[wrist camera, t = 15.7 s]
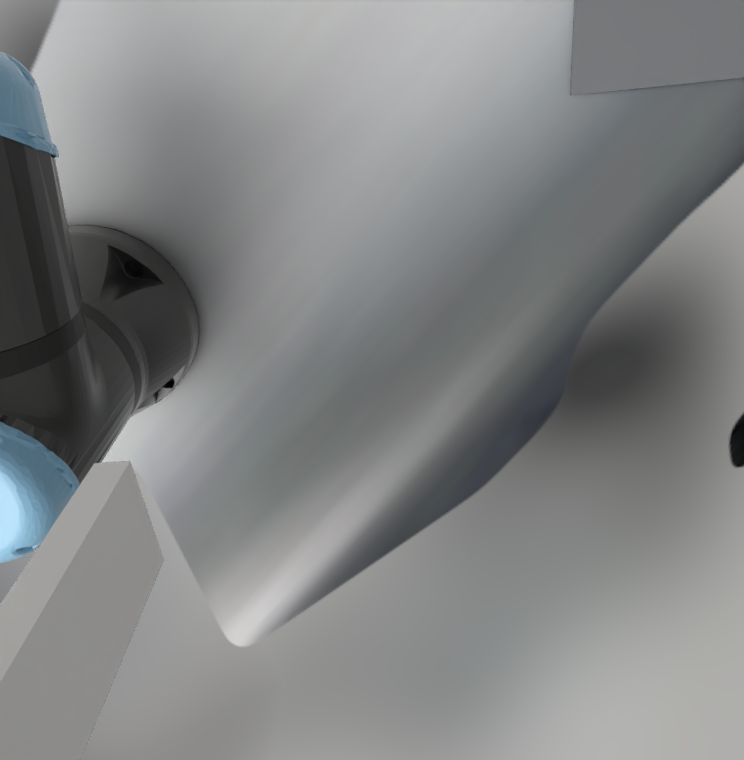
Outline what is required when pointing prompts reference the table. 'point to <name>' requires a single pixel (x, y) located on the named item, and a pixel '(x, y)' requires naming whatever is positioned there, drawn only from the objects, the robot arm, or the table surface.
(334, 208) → the table surface
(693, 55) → the rubber mat
